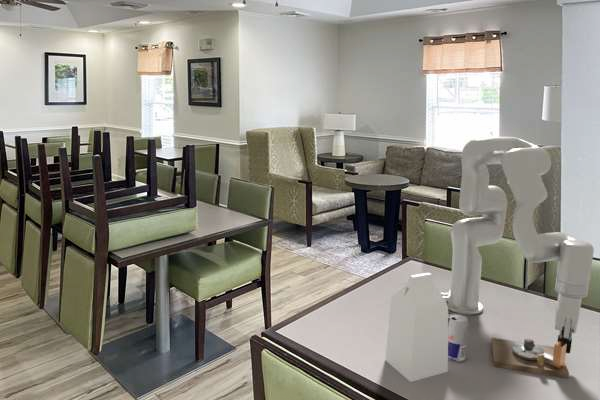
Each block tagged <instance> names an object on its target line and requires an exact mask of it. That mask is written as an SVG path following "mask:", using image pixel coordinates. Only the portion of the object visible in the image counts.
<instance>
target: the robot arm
mask: <svg viewBox="0 0 600 400" xmlns="http://www.w3.org/2000/svg"><path fill="white" fill-rule="evenodd" d="M460 158H461V171H462V172H461V173H462V174H461V180H460V183H461V184H460V190H459V200H458V201H459V203H458V205H459V206H458V207H459V210H460V212H461V213H462V214H463V215H466V216H480V217H469V218H468V217H467V218H462V219H459V220H457V221H456V222H454V223H453V224H452V227H451V230H450V234H451V235H450V236H451V244H452V259H451V260H452V261H451V275H450V277H451V278H450V286H449V288H450V289H449V291H448V292H440V291H439V292H440V293H441V295H442V296H443V298H444V300H445V301H446V303H447V306H448V311H451V312H454V313H455V314H461V315H469V316H470V315H471V316H473V315H477V314H480V313H482V312H483V310H484V305H483V303H481V302H479V300H480V291H481V289H480V288H481V280H482V279H481V278H482V264H483V261H482V260H483V259H482V256H481V253H480V252H479V248H478V247H481V246H487V245H488V246H489V245H494V244H496V243H499V242H500V241H501V239H502V238H503V235H504V230H505V223H506V216H507V210H508V209H507V208H508V198H507V195H506V192H505V191H504V190H503V189H502V187H499V186H497V185H489V183H490V173H489V169H488V167H487V165H501V167H502V170H503V174H504V175H505V178H506V181H507V184H508V186H509V189H510V191H511V193H512V195H513V198H514V201H515V204H516V205H515V209H514V212H513V216H512V225H511V226H512V232H513V236H514V239H515V242H516V244H517V247H518V249H519V252H520V253H521V255H522V256H523V257H524V258H525V260H527V261H529V262H531V263H544V262H546V263H547V262H551V261H558V263H557V268H556V269H557V270H556V276H555V277H556V278H555V287H554V290H555V292H556V294H558V296H557V301H556V310H555V316H554V317H555V318H554V330H555V331H559V334H558V336H557V342H559V341H561V342H564V343H567V346H566V354H570V353H571V349H572V343H573V342H572V341H573V339H572V338H573V337H572V335H573V334H576V332H577V329H578V328H577V327H578V323H579V318H580V311H581V306H582V299H583V298H586V297H588V296H589V295H588V294H589V287H590V279H591V275H592V274H591V272H592V267H593V265H592V264H593V258H594V253H595V252H594V247H593V245H592V244H591V243H590V242H587V241H585V240H582V239H581V240H579V239H576V238H574V237H572V235H571V236H570V235H569V234H567V233H565V232H560V231H554V232H544V233H538V232H537V229H536V227H535V224H534V220H533V217H534V216H533V214H534V211H535V209H536V207H537V206H538V205H540V204H542V203H543V202H544V201H546V199H547V197H548V191H547V188H546V186H545V184H544V182H543V180H542V177H541V176H543V175H545V174H547V173H548V172H550V169H551V166H552V159H551V156H550V154H549V153H548V151H547V150H545V149H544V148H542V147H541V146H538V145H536V144H534V143H532V142H529V141H526V140H524V139H522V138H519V137H515V136H489V137H488V136H486V137H476V138H474V139H471V140H469V141H468V142H467V143H466V144H465V146H464V147H463V148H462V151H461V157H460ZM481 216H482V217H481Z"/></svg>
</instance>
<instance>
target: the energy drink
mask: <svg viewBox="0 0 600 400" xmlns="http://www.w3.org/2000/svg"><path fill="white" fill-rule="evenodd" d="M468 326H469V320H468V317H467V316H466V315H465V314H460V313H451V314H448V361H452V362H456V363H461V362H463V361H465V360H466V354H467V352H466V351H467V343H468V341H467V339H468V330H469V327H468Z"/></svg>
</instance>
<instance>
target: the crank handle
mask: <svg viewBox="0 0 600 400" xmlns="http://www.w3.org/2000/svg"><path fill="white" fill-rule="evenodd" d="M539 345H540V344H538V345H537V343H534V346H533V350H528V349H525V348H524V340H521V341H517V342H515V343H513V347H512V352H513V353H514V354H515V355H516V356H518V357H520V358H522V359H525V360H530V361H537V357H538V354H543V355H544V362H545V363H547V364H550V365H552V366H553V367H556V368H558V369H560V368H561V367H562V366H563V365H564V362H565V361H566V354H567V353H566V346H567V343H564V342H561V341H559V342H558V341H557V342H556V343H555V344H554V346H553V347H554V354H553V356H552V355H550V354H547V353H545V352H544V349H543V348H542V347H540V346H539ZM565 363H566V362H565Z"/></svg>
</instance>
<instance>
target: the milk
mask: <svg viewBox="0 0 600 400" xmlns="http://www.w3.org/2000/svg"><path fill="white" fill-rule="evenodd" d="M441 293H442V292H441ZM441 293H440V289H439V288H438V287H437V285H436V284H435V281H434V278H433V274H432V273H430V272H424V273H418V274H412V275H409V278H408V279H407V282H406V284H405V286H403V287H402V288H401V289H400V290H398V291H397V292H396V293H394V294H393V295H392V297H391V298H390V299H391V300H390V307H389V316H388V317H389V318H388V328H387V339H386V348H385V362H387V363H388V364H389V365H390V366H392V368H394V370H396V371H397V372H398V373H399V374H401V375H402V376H403V377H404V378H405V379H406V380H407V381H408V382H410V383H412V382H416V381H420V380H424V379H426V378H430V377H434V376H436V375H442V374H445V373H448V372H449V359H448V317H449V309H448V306H447V303H446V300H444V298H443V296H442V295H441Z"/></svg>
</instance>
